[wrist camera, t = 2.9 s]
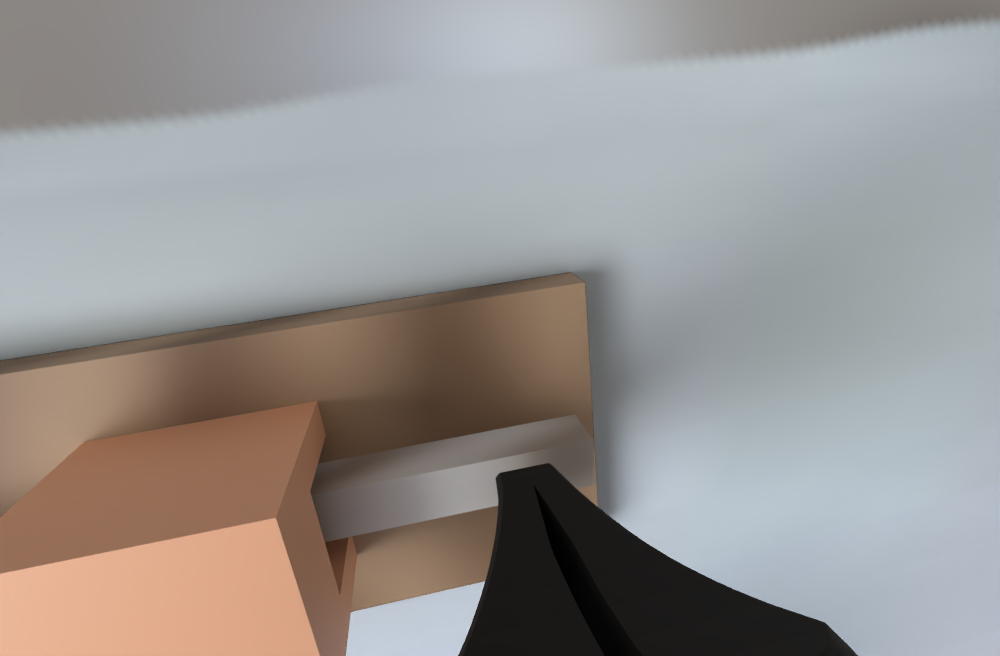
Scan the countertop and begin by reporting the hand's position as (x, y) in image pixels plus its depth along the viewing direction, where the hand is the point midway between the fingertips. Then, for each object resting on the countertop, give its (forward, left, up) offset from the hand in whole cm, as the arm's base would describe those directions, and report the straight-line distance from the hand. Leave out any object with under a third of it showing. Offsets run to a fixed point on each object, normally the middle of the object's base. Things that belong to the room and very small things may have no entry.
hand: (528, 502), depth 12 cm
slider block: (+6, +4, -2) cm, 8 cm away
